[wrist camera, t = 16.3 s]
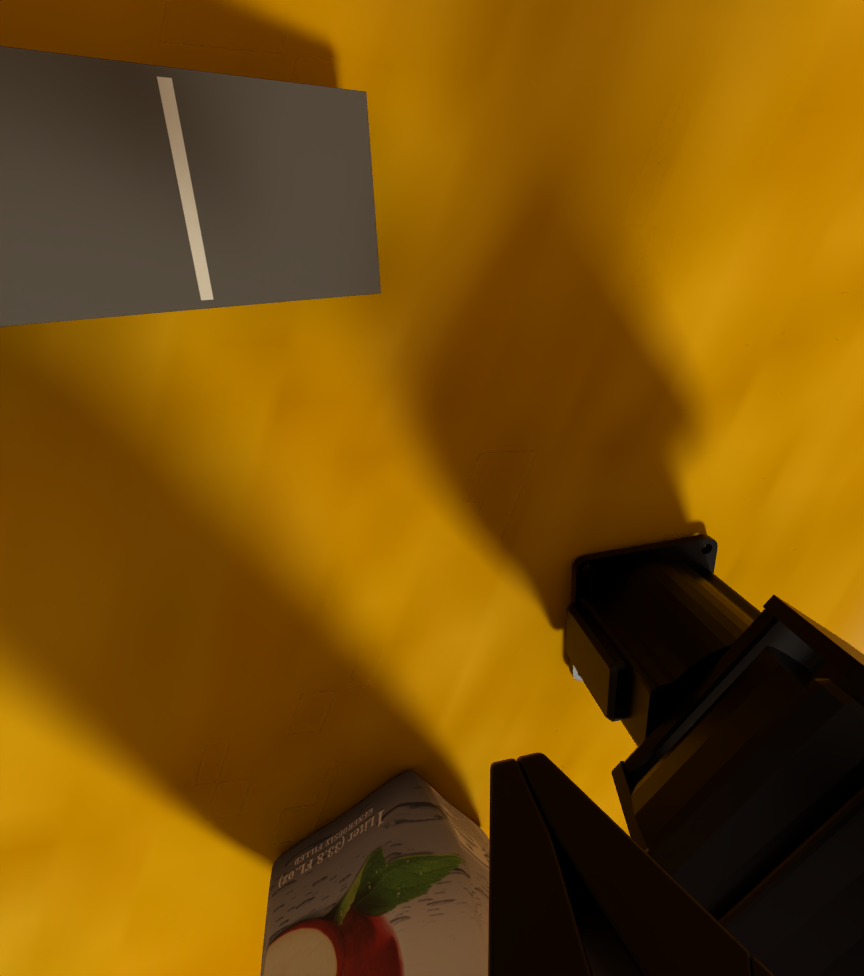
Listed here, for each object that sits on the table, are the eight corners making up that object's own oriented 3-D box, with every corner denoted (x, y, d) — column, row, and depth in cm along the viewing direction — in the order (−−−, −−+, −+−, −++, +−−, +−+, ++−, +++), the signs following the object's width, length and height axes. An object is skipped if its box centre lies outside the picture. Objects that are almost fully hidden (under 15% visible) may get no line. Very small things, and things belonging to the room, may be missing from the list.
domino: (366, 91, 14) (-154, 26, 9) (381, 293, 16) (-41, 330, 11) (339, 105, 16) (-133, 54, 11) (355, 291, 18) (-35, 323, 13)
